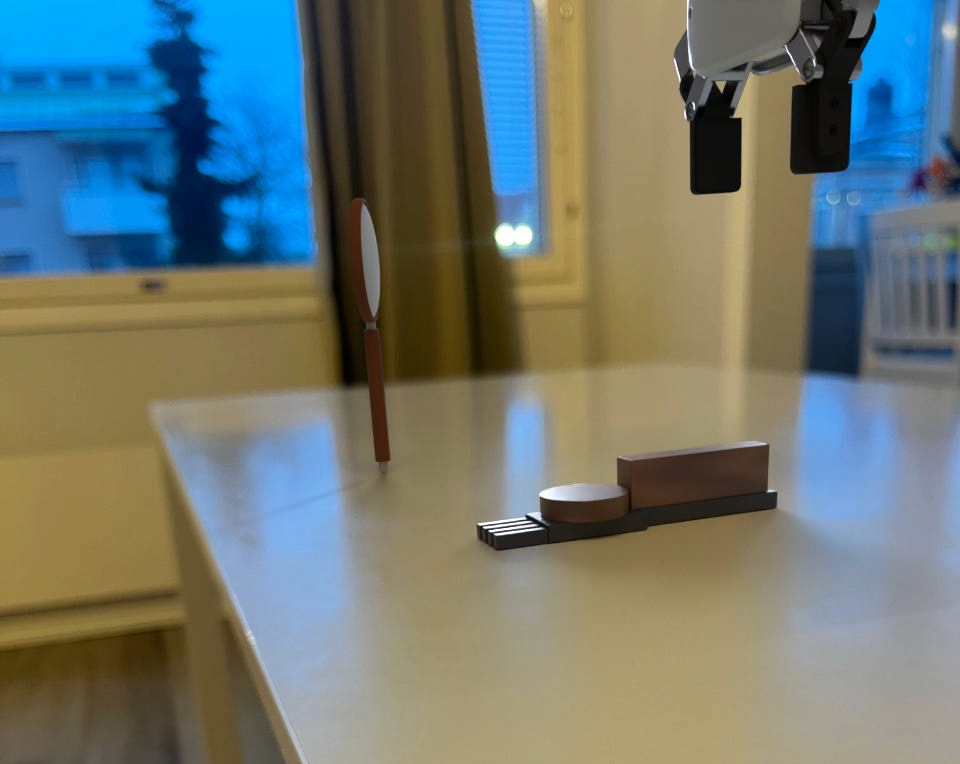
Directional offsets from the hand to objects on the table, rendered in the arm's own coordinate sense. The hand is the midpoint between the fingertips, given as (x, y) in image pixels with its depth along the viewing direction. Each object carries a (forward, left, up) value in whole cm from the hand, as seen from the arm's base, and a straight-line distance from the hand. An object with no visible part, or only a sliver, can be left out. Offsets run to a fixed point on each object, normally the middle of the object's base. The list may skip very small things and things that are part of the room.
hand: (763, 183), depth 55 cm
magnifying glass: (+17, -25, -18) cm, 35 cm away
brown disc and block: (+7, +1, -17) cm, 18 cm away
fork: (+9, +1, -18) cm, 20 cm away
